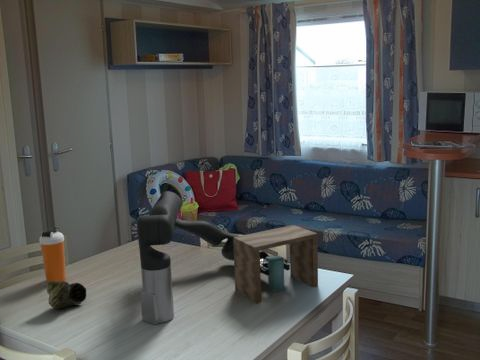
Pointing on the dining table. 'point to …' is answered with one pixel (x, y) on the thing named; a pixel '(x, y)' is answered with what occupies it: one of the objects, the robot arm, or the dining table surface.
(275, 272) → the teal upright cylinder
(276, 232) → the wooden bench stool
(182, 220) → the robot arm
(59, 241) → the shaker bottle
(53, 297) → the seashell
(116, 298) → the dining table surface
